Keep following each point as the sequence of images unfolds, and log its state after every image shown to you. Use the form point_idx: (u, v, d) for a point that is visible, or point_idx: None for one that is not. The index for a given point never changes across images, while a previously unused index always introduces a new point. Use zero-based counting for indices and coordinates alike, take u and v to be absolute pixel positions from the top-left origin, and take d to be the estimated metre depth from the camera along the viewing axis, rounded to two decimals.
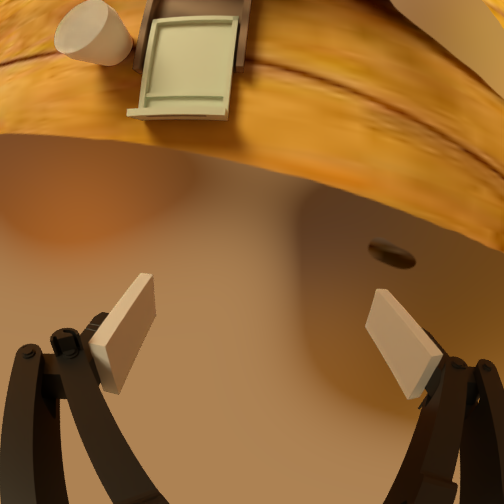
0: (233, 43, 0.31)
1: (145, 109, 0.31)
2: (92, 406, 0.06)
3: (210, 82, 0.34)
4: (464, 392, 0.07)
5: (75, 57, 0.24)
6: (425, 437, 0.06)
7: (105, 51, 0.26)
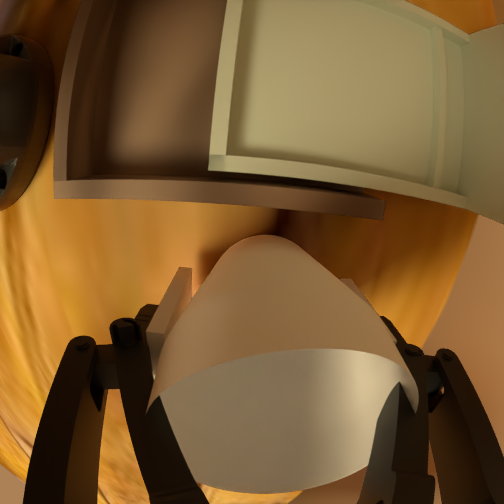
0: None
1: None
2: (144, 395, 0.07)
3: (412, 44, 0.12)
4: (424, 380, 0.08)
5: (379, 408, 0.09)
6: (390, 431, 0.07)
7: None
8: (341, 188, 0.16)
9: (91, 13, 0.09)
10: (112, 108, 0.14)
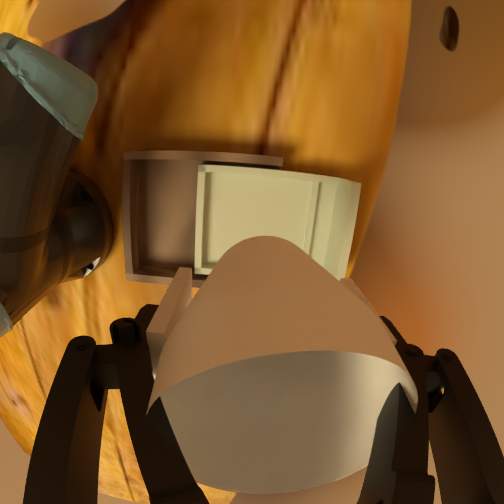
0: (244, 169, 0.30)
1: (338, 276, 0.30)
2: (144, 395, 0.07)
3: (296, 196, 0.32)
4: (424, 380, 0.08)
5: (379, 409, 0.09)
6: (389, 431, 0.07)
7: None
8: None
9: (130, 190, 0.30)
10: (148, 235, 0.35)
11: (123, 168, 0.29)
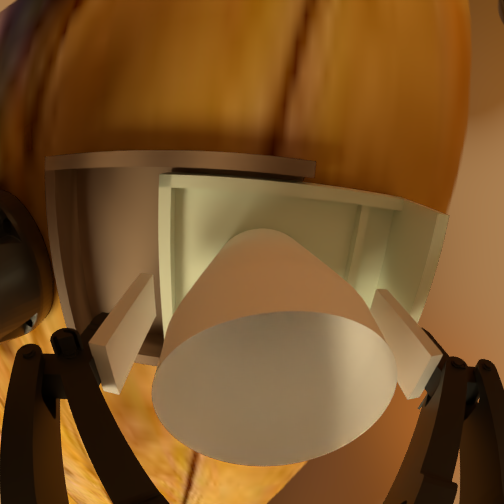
0: (242, 182, 0.16)
1: None
2: (92, 406, 0.06)
3: (331, 229, 0.19)
4: (464, 392, 0.07)
5: (366, 385, 0.11)
6: (425, 437, 0.06)
7: None
8: None
9: (58, 220, 0.16)
10: (97, 284, 0.21)
11: (46, 185, 0.15)
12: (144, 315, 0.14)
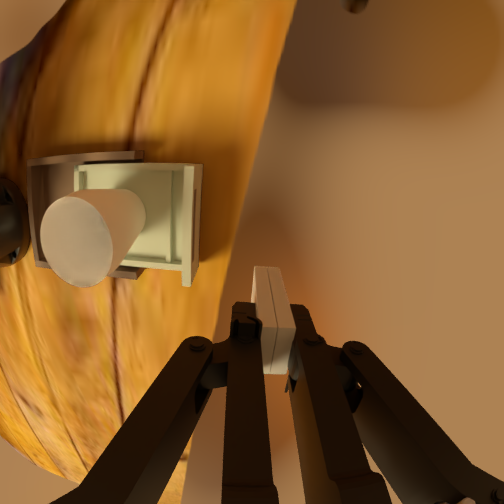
0: (106, 165, 0.30)
1: (183, 263, 0.30)
2: (250, 390, 0.08)
3: (155, 186, 0.32)
4: (333, 370, 0.09)
5: (122, 248, 0.24)
6: (311, 433, 0.07)
7: (122, 206, 0.25)
8: None
9: (32, 191, 0.30)
10: None
11: (27, 173, 0.28)
12: None
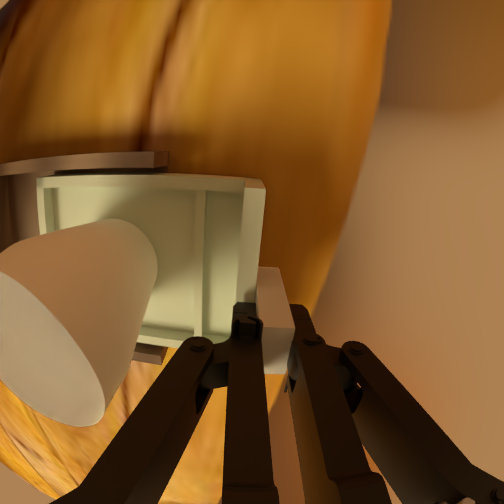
0: (86, 178, 0.16)
1: None
2: (251, 390, 0.08)
3: (173, 217, 0.19)
4: (332, 370, 0.09)
5: (122, 368, 0.11)
6: (311, 433, 0.07)
7: (113, 273, 0.12)
8: None
9: None
10: None
11: None
12: None
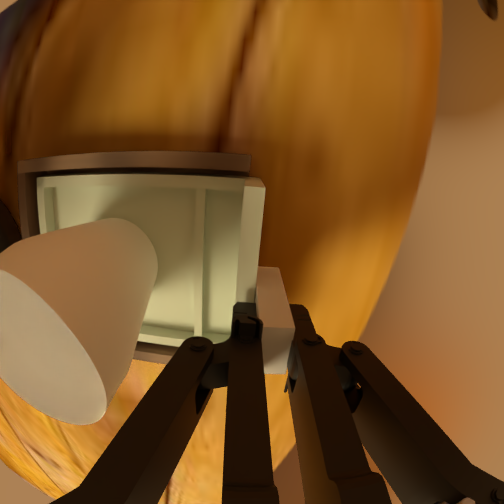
0: (87, 178, 0.16)
1: None
2: (251, 390, 0.08)
3: (173, 216, 0.19)
4: (332, 369, 0.09)
5: (124, 366, 0.11)
6: (311, 433, 0.07)
7: (114, 271, 0.12)
8: None
9: (29, 218, 0.17)
10: None
11: (18, 187, 0.15)
12: None
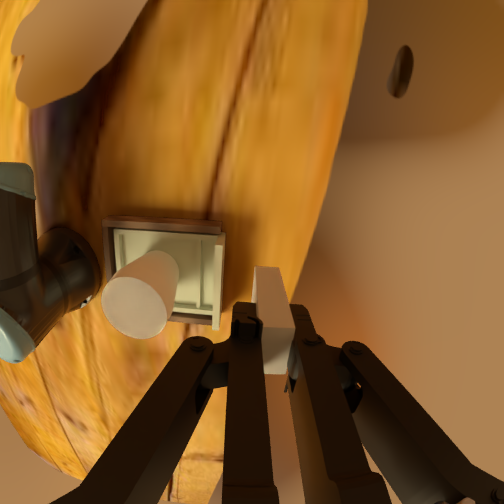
0: (144, 232, 0.39)
1: (214, 314, 0.39)
2: (251, 390, 0.08)
3: (186, 250, 0.41)
4: (332, 369, 0.09)
5: (171, 311, 0.33)
6: (311, 433, 0.07)
7: (167, 276, 0.34)
8: None
9: (109, 249, 0.39)
10: None
11: (103, 233, 0.38)
12: None
